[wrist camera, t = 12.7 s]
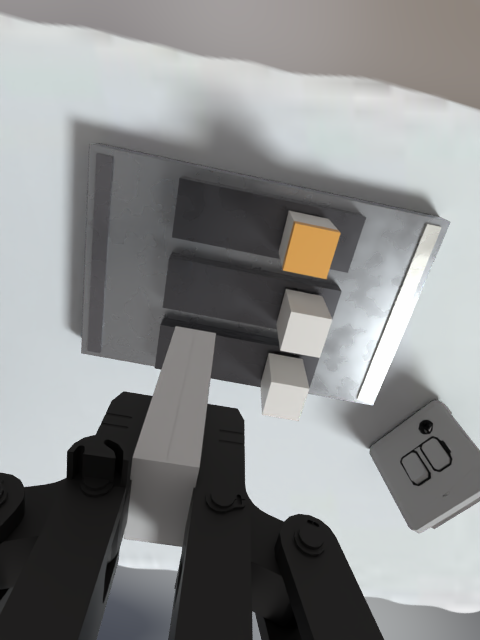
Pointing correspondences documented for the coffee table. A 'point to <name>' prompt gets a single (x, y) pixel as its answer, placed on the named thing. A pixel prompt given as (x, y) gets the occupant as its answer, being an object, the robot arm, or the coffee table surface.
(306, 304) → the block
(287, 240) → the block
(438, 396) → the coffee table surface
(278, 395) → the block
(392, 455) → the electrical switch
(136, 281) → the panel
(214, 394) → the coffee table surface
